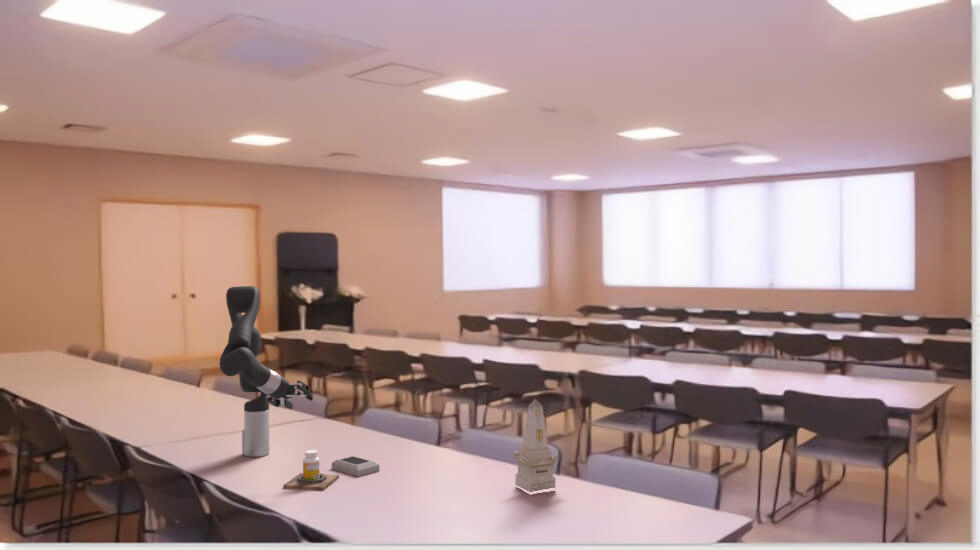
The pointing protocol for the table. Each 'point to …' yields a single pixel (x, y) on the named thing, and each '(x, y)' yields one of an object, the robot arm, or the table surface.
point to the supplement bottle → (311, 466)
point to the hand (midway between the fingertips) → (301, 402)
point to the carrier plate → (311, 482)
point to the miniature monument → (535, 454)
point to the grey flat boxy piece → (355, 466)
